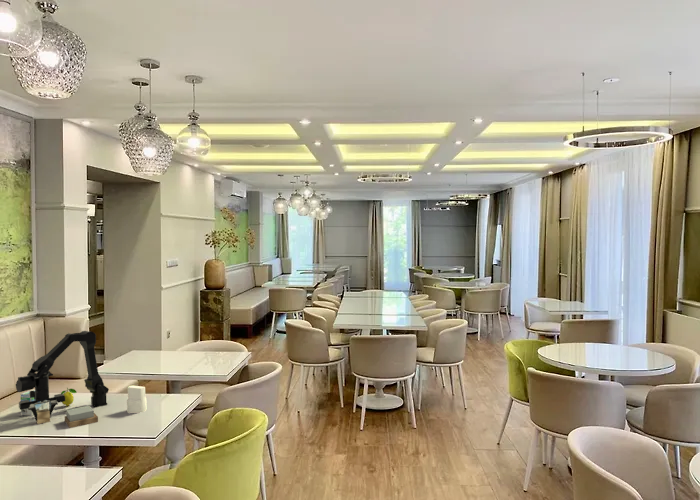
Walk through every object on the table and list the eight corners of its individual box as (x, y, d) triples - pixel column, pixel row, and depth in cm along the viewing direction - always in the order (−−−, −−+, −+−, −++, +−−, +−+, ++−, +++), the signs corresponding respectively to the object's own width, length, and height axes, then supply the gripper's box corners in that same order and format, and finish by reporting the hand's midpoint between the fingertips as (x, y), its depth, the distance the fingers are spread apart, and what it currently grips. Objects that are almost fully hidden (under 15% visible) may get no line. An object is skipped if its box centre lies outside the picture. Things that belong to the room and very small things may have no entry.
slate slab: (89, 411, 253) (89, 405, 253) (94, 416, 245) (93, 410, 245) (66, 416, 247) (66, 410, 247) (70, 421, 239) (70, 415, 239)
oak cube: (48, 418, 251) (47, 408, 251) (49, 421, 247) (49, 411, 247) (36, 421, 248) (35, 410, 248) (37, 424, 244) (37, 413, 244)
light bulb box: (31, 416, 256) (31, 394, 255) (20, 415, 257) (19, 393, 257) (48, 409, 266) (47, 388, 266) (37, 408, 267) (36, 387, 267)
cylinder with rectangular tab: (123, 412, 258) (122, 388, 257) (137, 407, 266) (136, 383, 266) (137, 414, 254) (136, 390, 254) (150, 408, 263) (149, 385, 262)
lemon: (77, 405, 271) (76, 386, 271) (66, 408, 266) (65, 389, 266) (70, 403, 274) (69, 384, 274) (59, 406, 270) (58, 387, 269)
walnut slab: (92, 416, 254) (92, 410, 254) (98, 423, 245) (97, 416, 245) (64, 422, 247) (64, 416, 247) (69, 429, 238) (69, 423, 237)
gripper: (60, 379, 259) (61, 410, 259) (16, 387, 247) (17, 419, 248) (65, 384, 250) (66, 416, 251) (19, 392, 239) (20, 425, 239)
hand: (43, 419), depth 247 cm, fingers closed on oak cube, 5 cm apart
